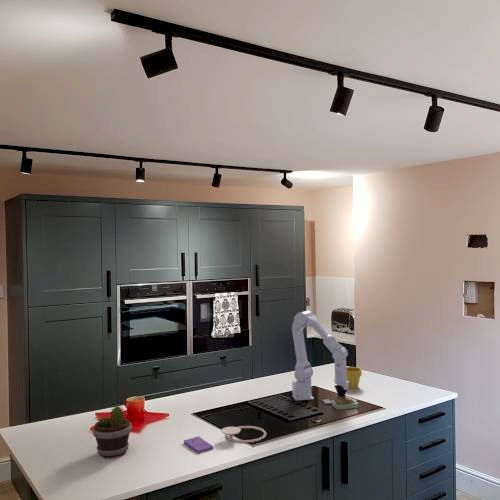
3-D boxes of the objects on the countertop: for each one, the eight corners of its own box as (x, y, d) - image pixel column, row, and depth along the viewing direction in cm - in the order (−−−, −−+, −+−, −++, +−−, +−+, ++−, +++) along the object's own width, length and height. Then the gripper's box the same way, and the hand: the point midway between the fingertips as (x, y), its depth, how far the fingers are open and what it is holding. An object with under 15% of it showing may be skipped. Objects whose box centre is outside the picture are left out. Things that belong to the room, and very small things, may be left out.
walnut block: (340, 409, 243) (340, 400, 243) (336, 405, 249) (336, 396, 249) (352, 407, 244) (352, 399, 244) (348, 404, 250) (347, 395, 250)
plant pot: (363, 389, 273) (363, 371, 273) (344, 390, 273) (343, 371, 273) (359, 384, 283) (359, 366, 283) (340, 384, 284) (340, 366, 284)
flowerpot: (85, 454, 198) (83, 402, 198) (121, 442, 209) (119, 393, 209) (104, 465, 188) (102, 410, 187) (140, 452, 198) (139, 400, 198)
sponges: (198, 440, 210) (198, 436, 210) (214, 450, 199) (214, 445, 199) (183, 444, 206) (183, 440, 206) (198, 455, 195) (197, 450, 195)
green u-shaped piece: (331, 410, 241) (331, 405, 241) (322, 401, 255) (321, 397, 255) (364, 407, 244) (363, 403, 244) (353, 398, 258) (352, 394, 258)
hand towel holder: (274, 425, 212) (236, 438, 199) (275, 436, 212) (236, 450, 199) (248, 415, 225) (210, 427, 212) (248, 425, 225) (210, 437, 212)
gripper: (354, 375, 244) (354, 404, 244) (343, 368, 259) (344, 395, 259) (339, 376, 243) (340, 405, 243) (329, 369, 257) (330, 396, 258)
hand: (341, 400), depth 251 cm, fingers closed
